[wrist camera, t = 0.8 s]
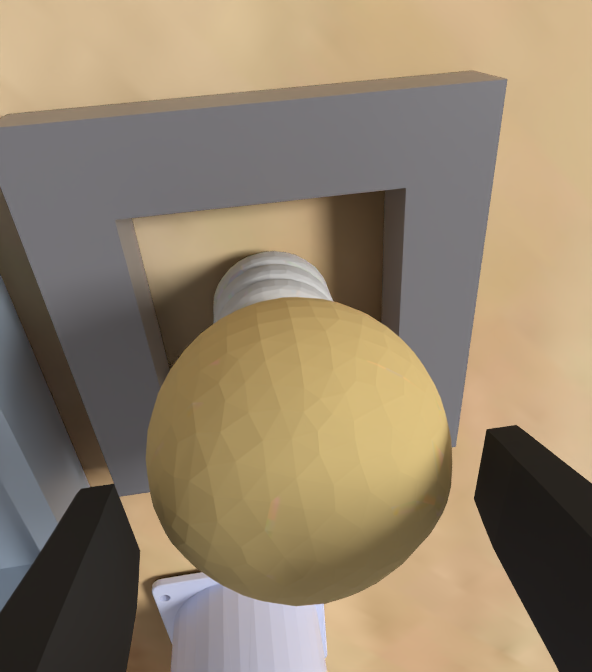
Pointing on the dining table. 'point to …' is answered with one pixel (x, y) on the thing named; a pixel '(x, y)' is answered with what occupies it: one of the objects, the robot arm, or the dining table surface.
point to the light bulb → (296, 441)
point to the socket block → (240, 190)
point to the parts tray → (29, 455)
